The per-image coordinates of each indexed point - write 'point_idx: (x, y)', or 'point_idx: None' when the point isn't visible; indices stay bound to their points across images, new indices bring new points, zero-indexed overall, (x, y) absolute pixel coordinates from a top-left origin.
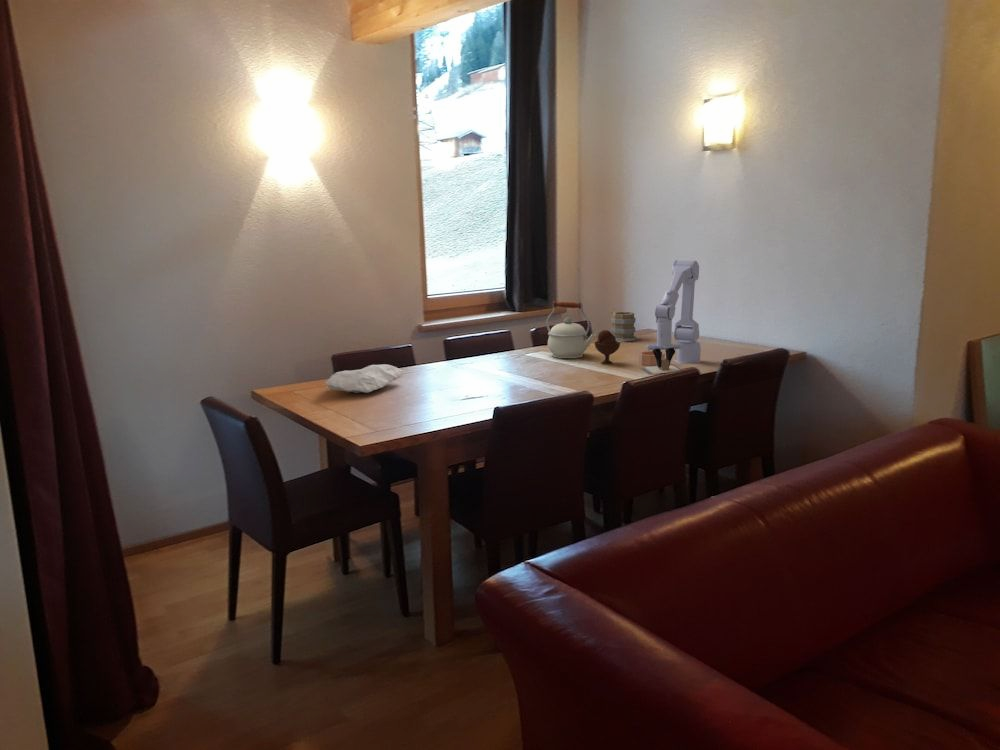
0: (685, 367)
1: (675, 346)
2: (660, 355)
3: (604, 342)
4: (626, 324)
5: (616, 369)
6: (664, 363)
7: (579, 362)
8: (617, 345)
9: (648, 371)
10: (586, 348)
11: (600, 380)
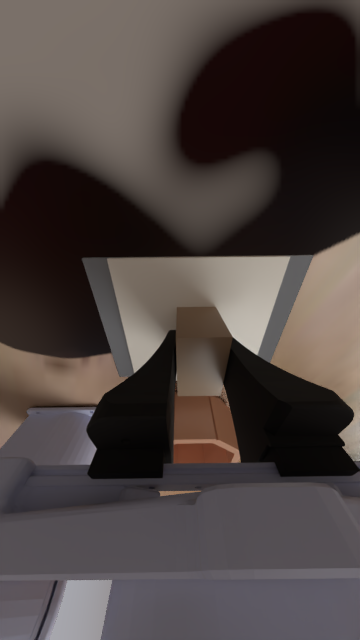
0: (85, 369)
1: (43, 522)
2: (266, 375)
3: None
4: None
5: (335, 383)
6: (210, 325)
7: (346, 447)
8: None
9: (269, 323)
10: None
11: None
